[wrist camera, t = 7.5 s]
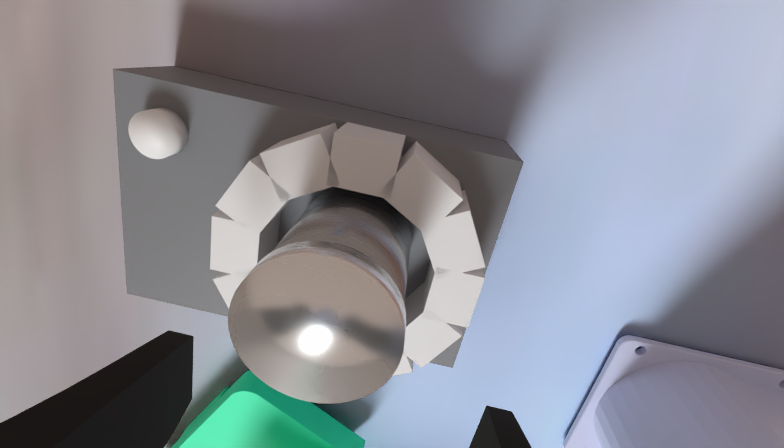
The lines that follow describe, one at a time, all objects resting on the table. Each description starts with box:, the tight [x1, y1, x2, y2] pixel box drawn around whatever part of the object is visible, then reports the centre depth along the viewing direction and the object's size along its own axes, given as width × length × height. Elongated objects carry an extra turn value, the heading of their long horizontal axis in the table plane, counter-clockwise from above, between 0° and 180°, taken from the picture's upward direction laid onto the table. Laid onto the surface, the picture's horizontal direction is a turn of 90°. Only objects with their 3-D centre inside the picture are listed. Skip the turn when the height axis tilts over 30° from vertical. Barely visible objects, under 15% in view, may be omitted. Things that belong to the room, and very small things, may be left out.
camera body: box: [113, 66, 523, 376], centre depth 16 cm, size 14×9×6 cm, turn 78°
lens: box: [228, 186, 412, 404], centre depth 12 cm, size 4×4×6 cm
